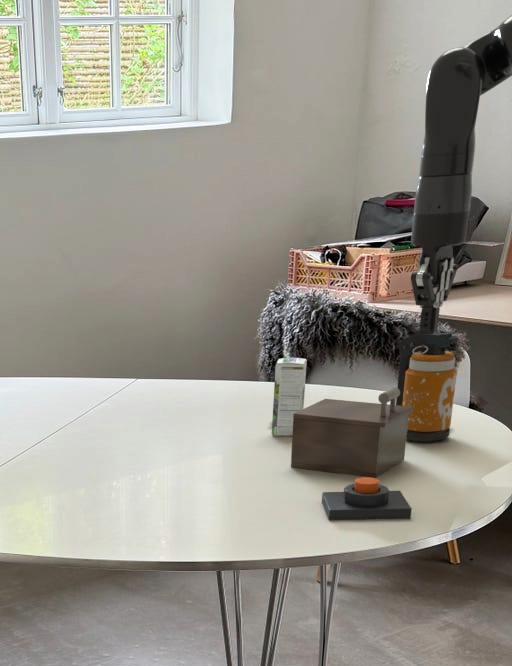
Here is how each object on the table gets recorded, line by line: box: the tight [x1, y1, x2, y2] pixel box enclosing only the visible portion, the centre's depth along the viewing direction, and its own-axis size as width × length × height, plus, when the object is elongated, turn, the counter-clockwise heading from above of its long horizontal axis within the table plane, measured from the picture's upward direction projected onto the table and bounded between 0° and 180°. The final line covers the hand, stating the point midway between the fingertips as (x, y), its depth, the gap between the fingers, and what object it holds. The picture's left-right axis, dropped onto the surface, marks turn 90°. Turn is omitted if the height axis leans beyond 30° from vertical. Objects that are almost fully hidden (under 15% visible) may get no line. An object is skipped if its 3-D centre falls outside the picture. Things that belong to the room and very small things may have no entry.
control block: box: [321, 483, 412, 521], centre depth 148 cm, size 12×9×4 cm
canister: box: [395, 330, 459, 443], centre depth 180 cm, size 9×11×20 cm
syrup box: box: [271, 357, 308, 437], centre depth 191 cm, size 6×6×14 cm
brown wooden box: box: [290, 414, 409, 479], centre depth 170 cm, size 16×13×9 cm
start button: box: [354, 476, 380, 493], centre depth 147 cm, size 4×4×2 cm
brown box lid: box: [293, 386, 414, 428], centre depth 167 cm, size 17×13×5 cm
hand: (428, 333), depth 145 cm, fingers closed
